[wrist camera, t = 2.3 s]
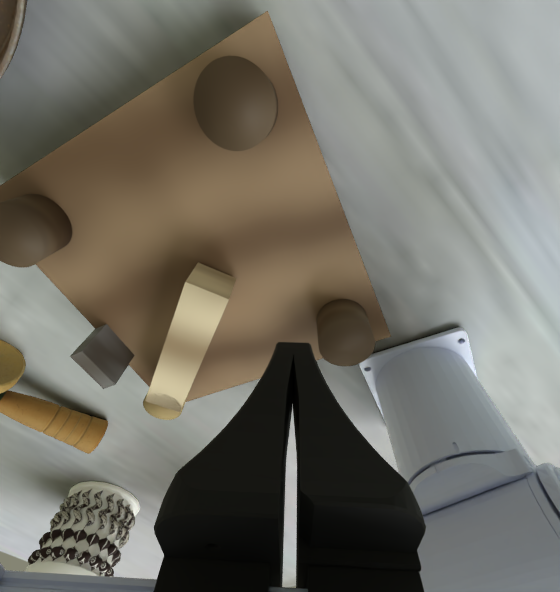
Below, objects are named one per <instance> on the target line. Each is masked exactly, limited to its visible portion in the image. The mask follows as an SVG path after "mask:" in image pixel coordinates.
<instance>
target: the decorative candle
mask: <svg viewBox="0 0 560 592" xmlns="http://www.w3.org/2000/svg"><path fill="white" fill-rule="evenodd" d="M139 509H140V505H139V501H138V500H137V499H136V498H135V497H134V496H133V495H132V494H131V493H130V492H128V491H126V490H125V489H123V488H121V487H119V486H115V485H112V484H109V483H106V482H96V481H88V482H80V483H78V484H76V485H75V486H73V487H72V488H71V489H70V492H69V495H68V497H67V498H65V499H64V503H62V504H61V505H60V510H61V511H60V512H58V513H56V514H55V516H54V518H53V519H52V520H51V522H50V524H51V528H50V530H51V532H47V533H45V534H44V535H43V537H42V538H41V539H40V541H39V544H40V549H39V550H36V551H34V552H33V553H32V555H31V556H30V557H29V559H28V563H29V566H27V568H26V570H25V572H40V573H57V574H73V575H89V576H105V577H113V574H114V571H113V569H112V567H114V566H115V565H116V563H118V562H119V561H120V556H121V553H120V551H119V549H120V548H122V547H123V546H124V545H125V544H126V543H127V542H128V540H129V530H131V529H132V528H133V526H134V524H135V516H136V515H137V513H138V511H139Z"/></svg>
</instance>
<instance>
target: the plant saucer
mask: <svg viewBox="0 0 560 592" xmlns="http://www.w3.org/2000/svg"><path fill="white" fill-rule="evenodd" d="M26 5H27V0H0V78H1V77H2V76H3V74H4V72H5V71H6V69H7V67H8V66H9V64H10V62H11V60H12V58H13V55H14V53H15V50H16V48H17V45H18V42H19V39H20V35H21V32H22V28H23V23H24V18H25V12H26Z"/></svg>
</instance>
